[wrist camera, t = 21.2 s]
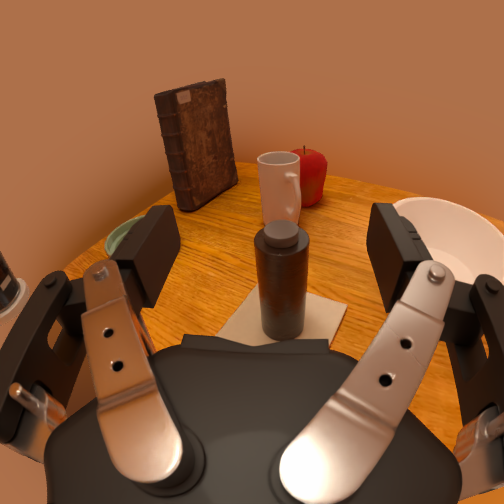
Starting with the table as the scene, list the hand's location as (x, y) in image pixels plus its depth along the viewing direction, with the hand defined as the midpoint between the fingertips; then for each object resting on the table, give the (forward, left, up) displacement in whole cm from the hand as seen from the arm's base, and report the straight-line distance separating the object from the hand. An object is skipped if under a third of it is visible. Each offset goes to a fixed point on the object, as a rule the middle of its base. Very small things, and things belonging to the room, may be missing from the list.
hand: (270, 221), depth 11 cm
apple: (+25, +35, -21) cm, 47 cm away
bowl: (+30, +5, -21) cm, 37 cm away
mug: (+17, +29, -21) cm, 39 cm away
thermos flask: (+6, +9, -20) cm, 23 cm away
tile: (+6, +10, -21) cm, 24 cm away
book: (+8, +49, -21) cm, 54 cm away
